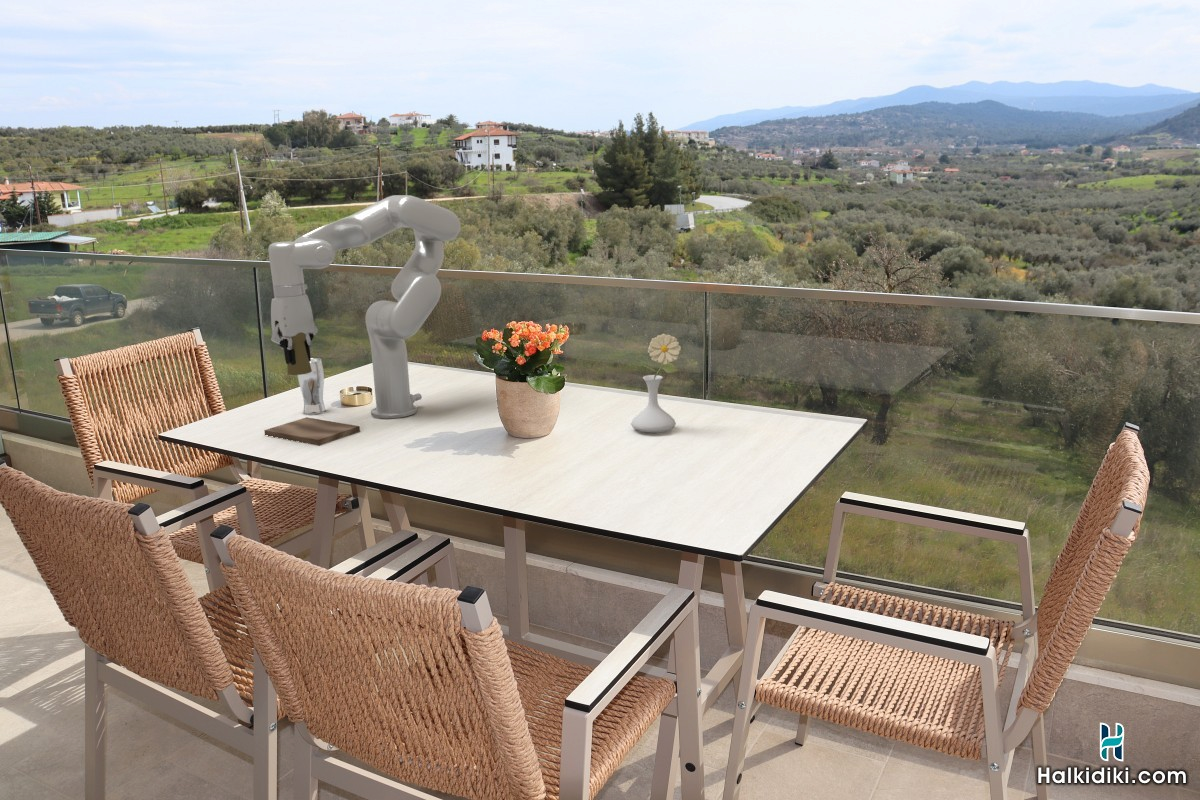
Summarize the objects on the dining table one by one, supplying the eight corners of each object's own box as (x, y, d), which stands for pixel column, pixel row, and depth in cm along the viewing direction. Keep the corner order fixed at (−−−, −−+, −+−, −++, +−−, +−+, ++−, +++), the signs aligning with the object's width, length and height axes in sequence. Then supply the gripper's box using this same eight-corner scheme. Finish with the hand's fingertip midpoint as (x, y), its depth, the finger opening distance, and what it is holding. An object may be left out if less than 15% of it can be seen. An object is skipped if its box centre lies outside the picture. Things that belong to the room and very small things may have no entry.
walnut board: (307, 422, 248) (306, 417, 248) (360, 431, 238) (359, 426, 238) (265, 435, 237) (264, 430, 236) (318, 445, 227) (318, 439, 226)
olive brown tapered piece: (303, 375, 232) (298, 332, 229) (282, 374, 233) (277, 332, 230) (316, 369, 238) (311, 328, 235) (295, 369, 239) (290, 328, 236)
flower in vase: (625, 434, 229) (623, 336, 223) (638, 422, 240) (637, 328, 234) (675, 438, 225) (674, 338, 219) (687, 426, 235) (686, 330, 229)
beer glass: (296, 414, 258) (290, 362, 254) (312, 408, 264) (307, 357, 260) (316, 416, 255) (311, 363, 251) (332, 410, 261) (327, 358, 258)
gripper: (306, 286, 239) (314, 354, 243) (251, 295, 225) (261, 367, 230) (325, 287, 235) (333, 357, 239) (271, 297, 221) (281, 370, 226)
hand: (298, 361), depth 235 cm, fingers closed on olive brown tapered piece, 4 cm apart
